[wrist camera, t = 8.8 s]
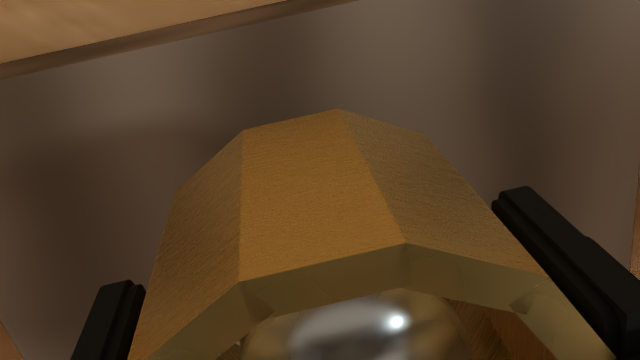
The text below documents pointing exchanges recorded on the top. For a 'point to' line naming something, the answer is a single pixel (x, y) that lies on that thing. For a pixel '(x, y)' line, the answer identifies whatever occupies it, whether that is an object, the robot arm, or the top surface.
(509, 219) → the robot arm
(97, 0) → the top surface
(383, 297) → the piston post
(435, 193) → the brass ring
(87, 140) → the walnut stand
